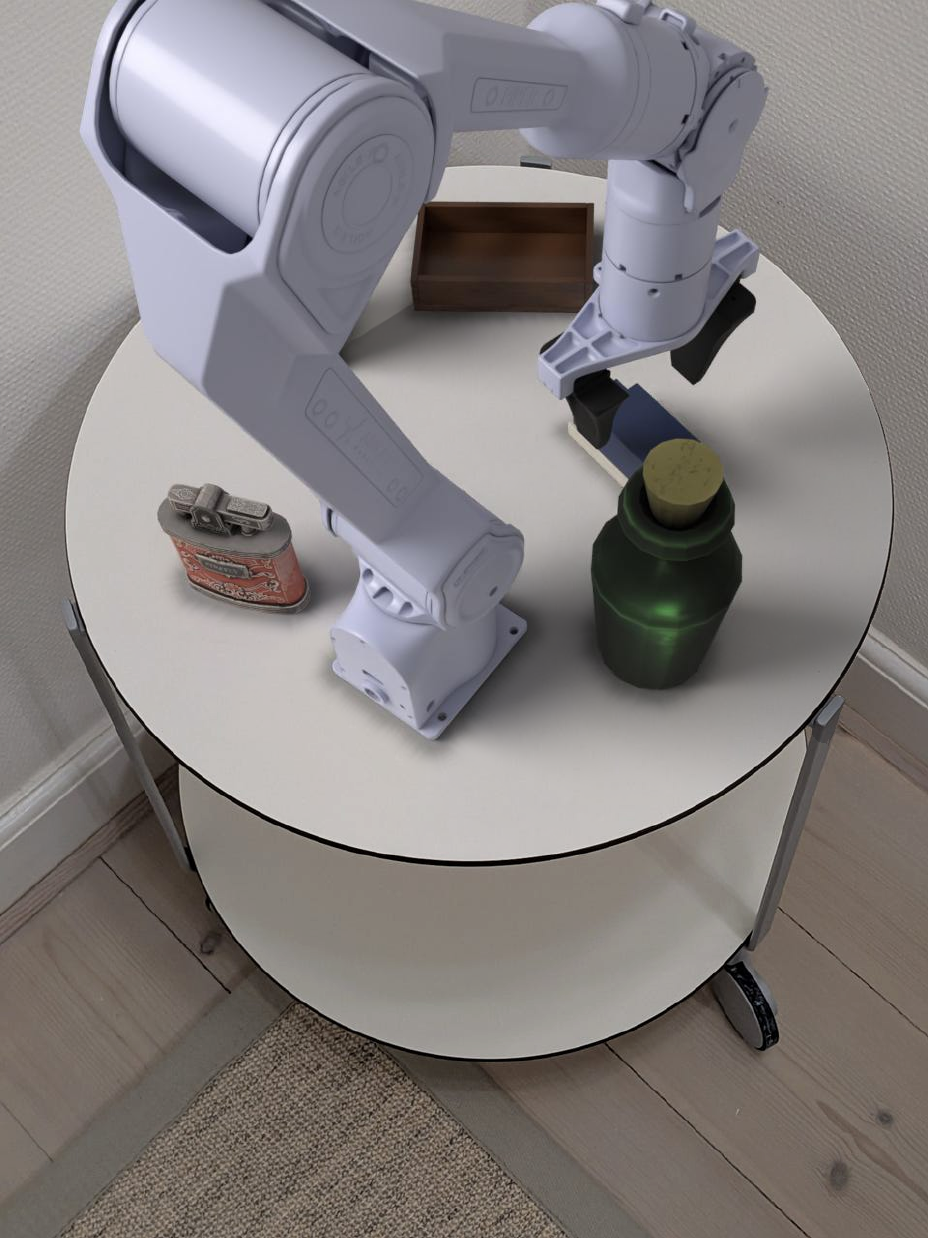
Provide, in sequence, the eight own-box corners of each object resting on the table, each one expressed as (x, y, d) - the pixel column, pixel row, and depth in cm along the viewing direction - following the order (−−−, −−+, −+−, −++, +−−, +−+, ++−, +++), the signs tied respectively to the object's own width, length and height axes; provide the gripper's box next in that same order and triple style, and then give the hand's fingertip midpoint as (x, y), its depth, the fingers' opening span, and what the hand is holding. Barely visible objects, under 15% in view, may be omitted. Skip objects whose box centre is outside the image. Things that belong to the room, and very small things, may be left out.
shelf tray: (592, 233, 90) (594, 202, 88) (590, 312, 87) (592, 282, 84) (422, 231, 91) (418, 200, 89) (413, 309, 88) (410, 279, 85)
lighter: (180, 593, 78) (134, 506, 69) (201, 548, 79) (159, 457, 71) (299, 623, 76) (269, 538, 68) (318, 577, 78) (290, 488, 69)
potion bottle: (666, 730, 72) (703, 575, 56) (556, 651, 75) (562, 482, 59) (747, 633, 75) (804, 459, 59) (638, 560, 77) (664, 375, 61)
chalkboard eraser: (699, 484, 80) (707, 445, 76) (652, 517, 79) (658, 479, 75) (613, 402, 83) (617, 361, 79) (567, 433, 82) (569, 393, 78)
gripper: (710, 135, 67) (684, 307, 79) (500, 265, 64) (506, 424, 76) (802, 208, 65) (761, 374, 77) (588, 347, 61) (580, 499, 73)
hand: (639, 404), depth 76 cm, fingers open, 7 cm apart
